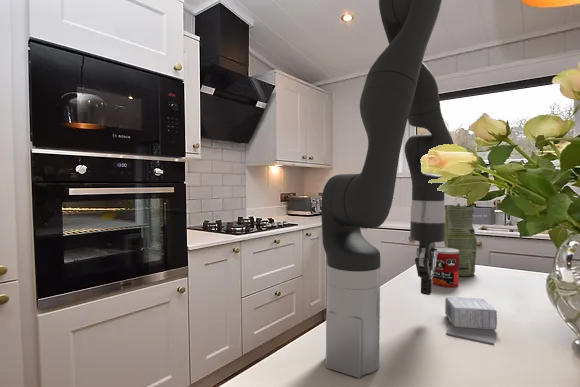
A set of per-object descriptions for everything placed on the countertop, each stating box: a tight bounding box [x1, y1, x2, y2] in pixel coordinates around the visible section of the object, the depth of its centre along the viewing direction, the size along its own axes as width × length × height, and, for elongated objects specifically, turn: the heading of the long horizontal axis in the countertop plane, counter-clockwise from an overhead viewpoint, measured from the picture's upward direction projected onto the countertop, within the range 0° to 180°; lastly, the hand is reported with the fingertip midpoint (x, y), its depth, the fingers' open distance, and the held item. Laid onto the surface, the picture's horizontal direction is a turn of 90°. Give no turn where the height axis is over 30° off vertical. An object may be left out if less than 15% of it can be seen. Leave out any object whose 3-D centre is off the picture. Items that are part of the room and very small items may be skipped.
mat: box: [445, 321, 495, 346], centre depth 76 cm, size 14×9×1 cm, turn 148°
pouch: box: [443, 202, 478, 277], centre depth 122 cm, size 11×12×25 cm
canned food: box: [432, 246, 460, 288], centre depth 109 cm, size 8×8×11 cm
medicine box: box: [444, 296, 498, 330], centre depth 78 cm, size 8×4×9 cm
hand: (426, 293), depth 81 cm, fingers closed
